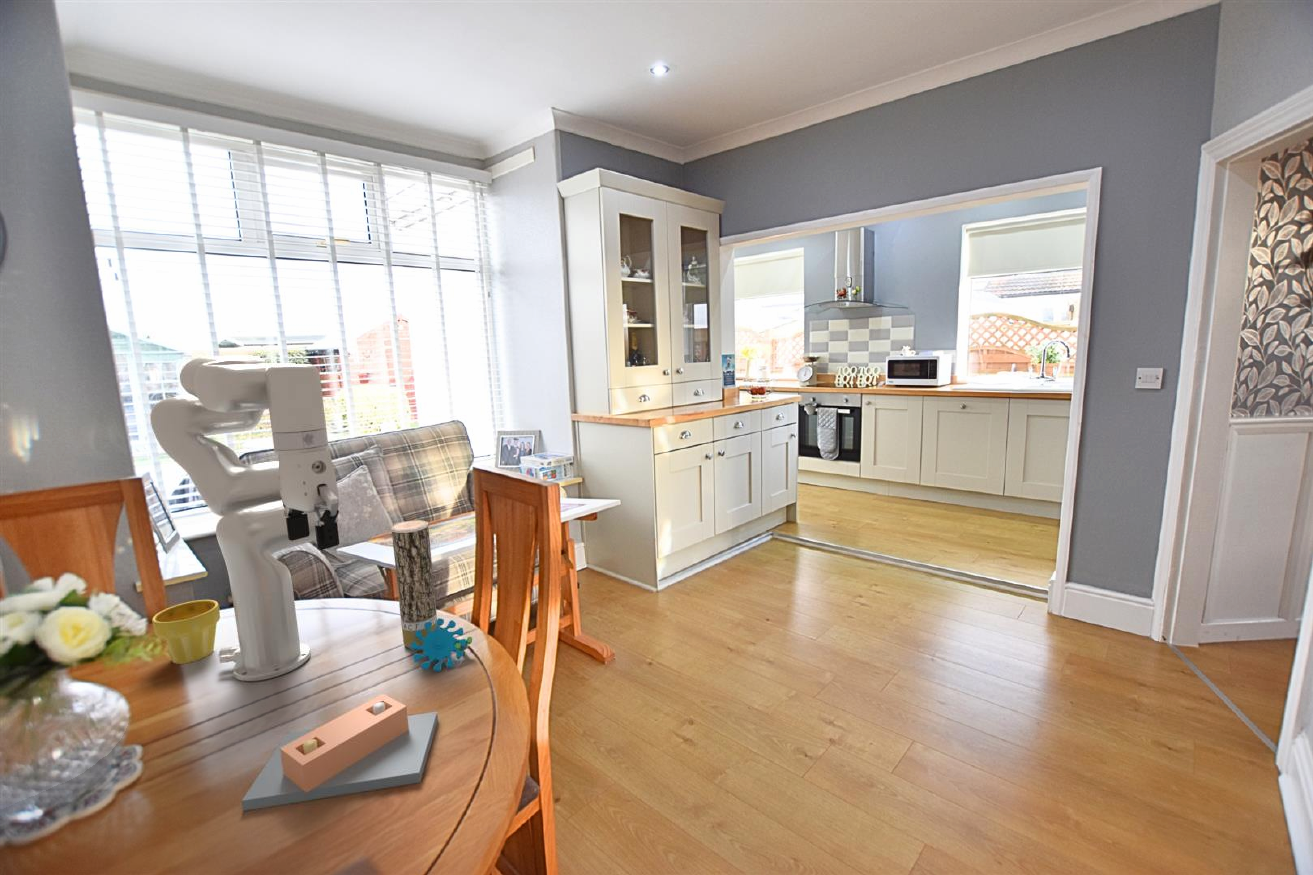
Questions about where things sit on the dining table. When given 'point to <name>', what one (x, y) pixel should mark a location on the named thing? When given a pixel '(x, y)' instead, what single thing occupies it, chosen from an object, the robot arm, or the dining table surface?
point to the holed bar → (343, 742)
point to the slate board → (350, 767)
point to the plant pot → (188, 629)
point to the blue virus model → (440, 644)
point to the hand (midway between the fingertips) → (313, 542)
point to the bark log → (414, 579)
